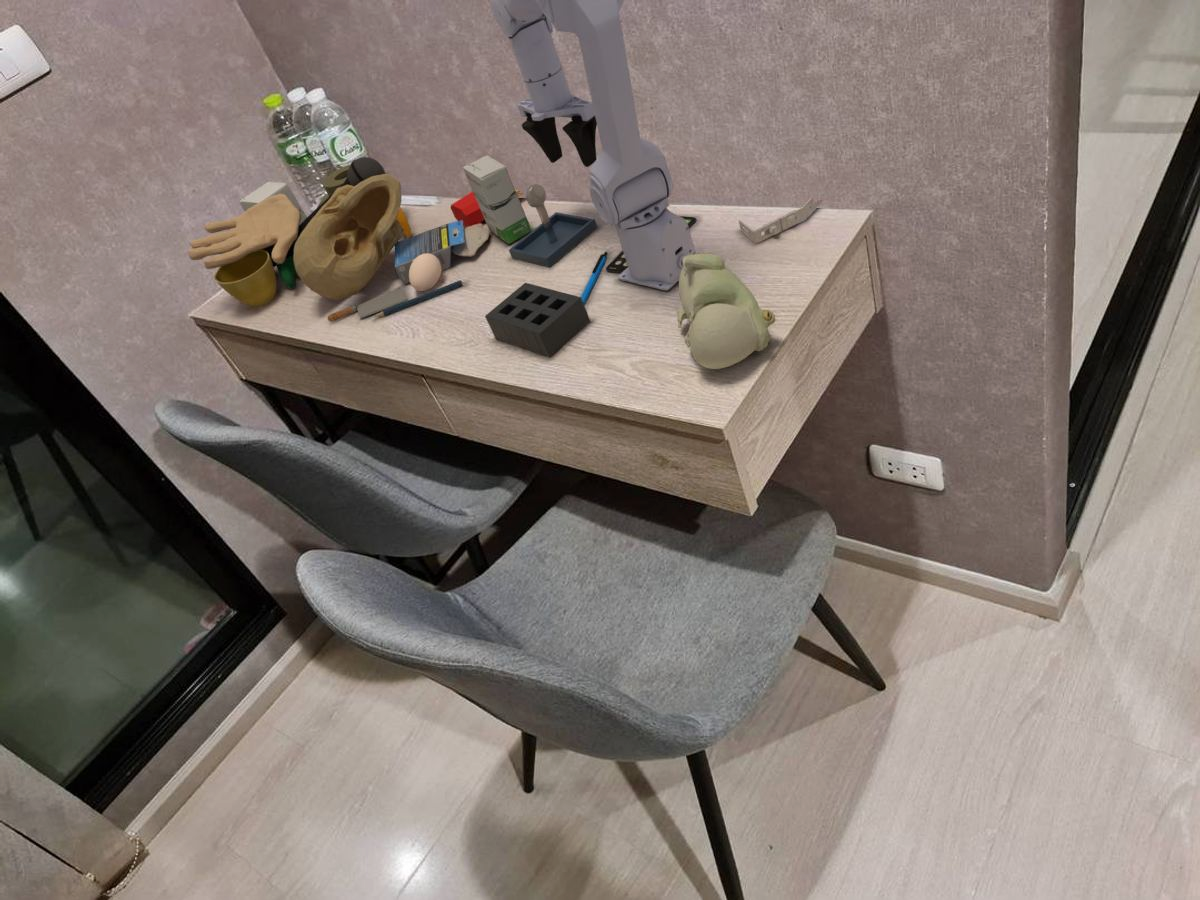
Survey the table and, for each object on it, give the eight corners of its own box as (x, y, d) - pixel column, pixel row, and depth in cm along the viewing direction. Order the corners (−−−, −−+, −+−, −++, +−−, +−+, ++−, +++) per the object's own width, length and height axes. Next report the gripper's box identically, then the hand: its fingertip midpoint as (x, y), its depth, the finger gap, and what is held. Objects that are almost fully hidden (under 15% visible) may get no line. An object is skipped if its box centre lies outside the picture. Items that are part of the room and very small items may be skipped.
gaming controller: (334, 269, 158) (315, 245, 159) (332, 260, 155) (312, 235, 155) (292, 296, 156) (272, 271, 156) (288, 287, 152) (268, 261, 152)
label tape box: (403, 285, 140) (473, 262, 140) (393, 264, 138) (464, 241, 137) (403, 260, 147) (470, 238, 147) (393, 240, 144) (461, 217, 144)
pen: (609, 254, 127) (607, 248, 127) (570, 334, 115) (568, 328, 114) (604, 255, 128) (601, 249, 127) (564, 335, 115) (562, 328, 115)
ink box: (533, 231, 140) (506, 164, 132) (507, 245, 139) (479, 179, 131) (513, 216, 146) (486, 152, 139) (488, 230, 145) (460, 166, 138)
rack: (590, 321, 116) (581, 297, 113) (550, 357, 112) (539, 333, 110) (535, 305, 123) (525, 282, 121) (495, 338, 120) (484, 316, 117)
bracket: (833, 173, 120) (738, 220, 119) (855, 187, 115) (756, 235, 115) (835, 185, 121) (741, 231, 120) (857, 199, 116) (759, 247, 116)
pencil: (461, 284, 134) (374, 318, 135) (463, 286, 135) (376, 320, 136) (460, 279, 134) (372, 313, 135) (461, 281, 135) (374, 315, 136)
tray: (597, 227, 134) (594, 218, 133) (550, 267, 130) (546, 258, 129) (559, 220, 140) (555, 212, 139) (512, 258, 136) (508, 249, 135)
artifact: (453, 242, 147) (455, 269, 139) (446, 228, 145) (448, 255, 138) (490, 227, 146) (494, 253, 139) (483, 213, 145) (487, 239, 137)
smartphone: (698, 217, 126) (643, 275, 119) (699, 221, 127) (644, 279, 120) (658, 214, 131) (603, 269, 124) (659, 218, 131) (604, 273, 124)
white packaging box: (294, 262, 162) (257, 203, 154) (274, 258, 166) (236, 201, 158) (322, 241, 165) (287, 182, 157) (302, 237, 170) (267, 180, 162)
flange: (396, 158, 151) (358, 150, 161) (328, 201, 146) (292, 190, 156) (408, 181, 154) (370, 172, 164) (341, 225, 149) (306, 213, 159)
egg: (427, 242, 135) (410, 274, 132) (452, 260, 137) (436, 292, 134) (413, 252, 138) (397, 284, 136) (437, 270, 141) (422, 301, 138)
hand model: (278, 187, 157) (187, 250, 154) (265, 169, 153) (171, 233, 150) (325, 241, 149) (229, 309, 146) (312, 223, 145) (213, 292, 142)
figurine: (698, 326, 91) (790, 322, 92) (678, 236, 102) (760, 233, 103) (690, 393, 99) (775, 389, 100) (672, 303, 110) (748, 300, 110)
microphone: (307, 254, 151) (386, 181, 145) (281, 224, 149) (359, 149, 143) (322, 248, 157) (398, 178, 151) (296, 219, 156) (372, 147, 149)
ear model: (368, 143, 136) (326, 213, 151) (304, 213, 125) (266, 282, 140) (433, 195, 140) (386, 258, 155) (378, 269, 129) (332, 329, 144)
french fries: (474, 231, 147) (530, 198, 150) (465, 211, 144) (522, 177, 148) (453, 220, 153) (508, 188, 156) (444, 200, 150) (500, 168, 154)
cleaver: (409, 303, 137) (404, 289, 141) (406, 296, 136) (401, 282, 140) (332, 335, 136) (329, 320, 140) (328, 329, 135) (325, 314, 139)
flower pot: (258, 320, 149) (237, 286, 144) (225, 311, 154) (203, 278, 149) (299, 286, 154) (280, 253, 149) (265, 279, 159) (245, 246, 154)
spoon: (562, 235, 135) (541, 180, 129) (547, 247, 134) (525, 191, 128) (559, 235, 136) (538, 179, 129) (545, 246, 134) (522, 191, 128)
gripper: (491, 85, 124) (525, 170, 133) (558, 87, 114) (589, 179, 123) (524, 63, 127) (555, 148, 135) (592, 63, 117) (620, 154, 126)
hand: (573, 161), depth 130 cm, fingers open, 7 cm apart
